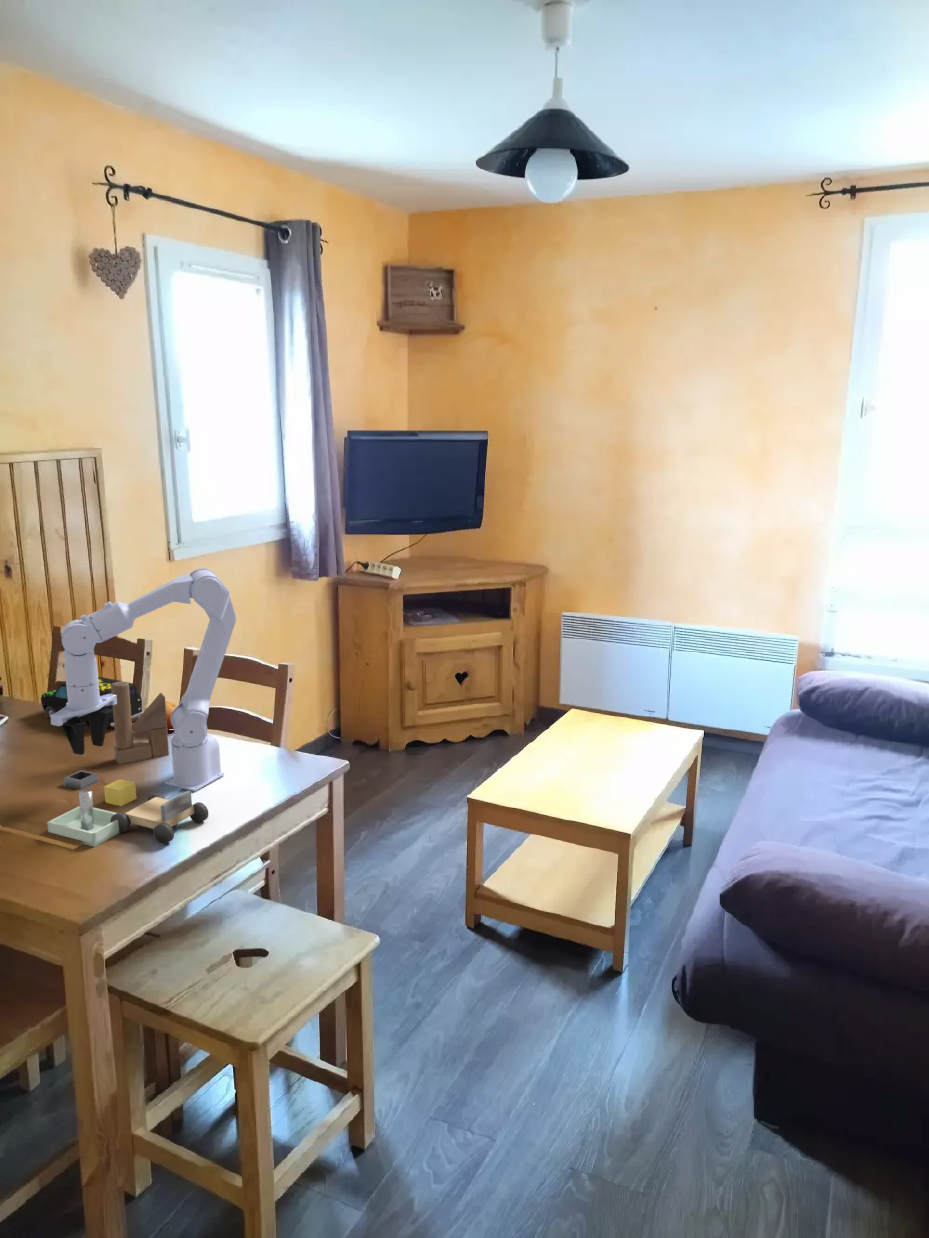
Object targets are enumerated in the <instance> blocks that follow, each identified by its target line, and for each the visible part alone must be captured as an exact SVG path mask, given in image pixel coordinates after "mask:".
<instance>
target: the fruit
mask: <svg viewBox="0 0 929 1238" xmlns="http://www.w3.org/2000/svg"><path fill="white" fill-rule="evenodd" d="M165 703H166V718H167V733H175V731H174V730H169V729H174V728H173V726H172V724H171V721H170V718H171V714H172V712H173V710H174V709H175V708H176V707H177V706H178V705H179V704H176V703H175V702H171V701H167V700H165Z"/></svg>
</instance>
